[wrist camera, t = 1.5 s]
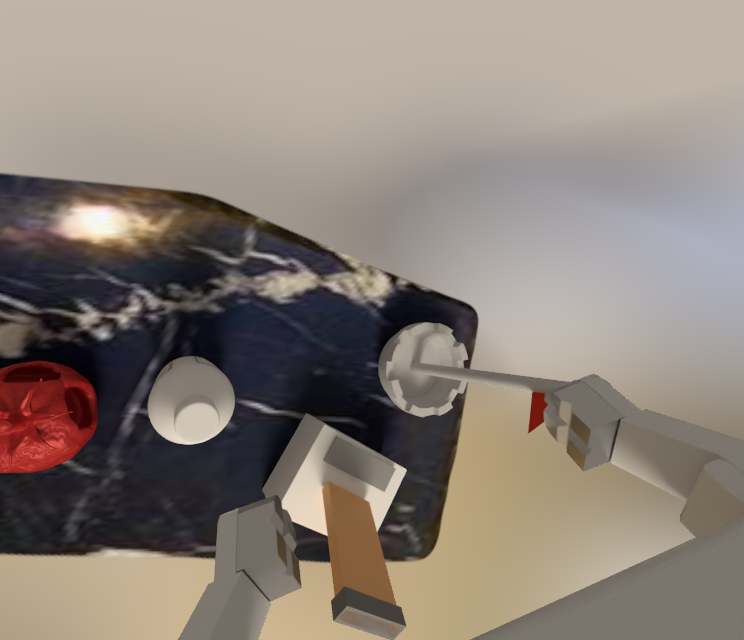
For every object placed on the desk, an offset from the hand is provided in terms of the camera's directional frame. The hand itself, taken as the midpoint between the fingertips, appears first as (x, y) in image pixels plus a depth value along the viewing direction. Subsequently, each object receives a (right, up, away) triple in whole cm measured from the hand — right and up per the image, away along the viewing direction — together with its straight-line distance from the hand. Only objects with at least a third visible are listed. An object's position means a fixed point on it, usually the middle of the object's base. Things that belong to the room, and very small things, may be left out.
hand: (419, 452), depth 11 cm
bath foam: (-22, -4, +33) cm, 40 cm away
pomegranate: (-34, -5, +28) cm, 44 cm away
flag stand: (+4, -3, +47) cm, 47 cm away
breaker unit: (-8, -16, +40) cm, 44 cm away
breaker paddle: (-4, -16, +34) cm, 38 cm away
